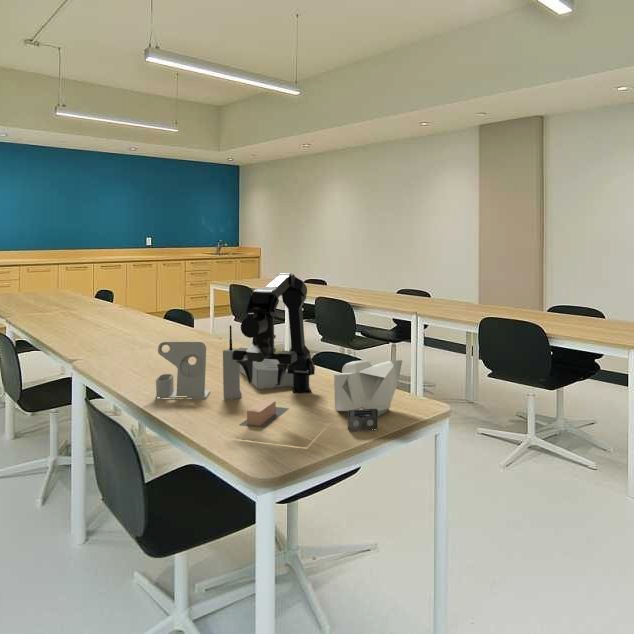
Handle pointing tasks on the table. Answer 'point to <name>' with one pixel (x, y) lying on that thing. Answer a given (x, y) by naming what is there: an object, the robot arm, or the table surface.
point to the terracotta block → (261, 412)
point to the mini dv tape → (362, 419)
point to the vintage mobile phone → (231, 374)
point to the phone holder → (184, 371)
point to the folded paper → (366, 385)
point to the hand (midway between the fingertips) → (264, 384)
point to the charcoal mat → (278, 412)
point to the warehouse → (268, 374)
